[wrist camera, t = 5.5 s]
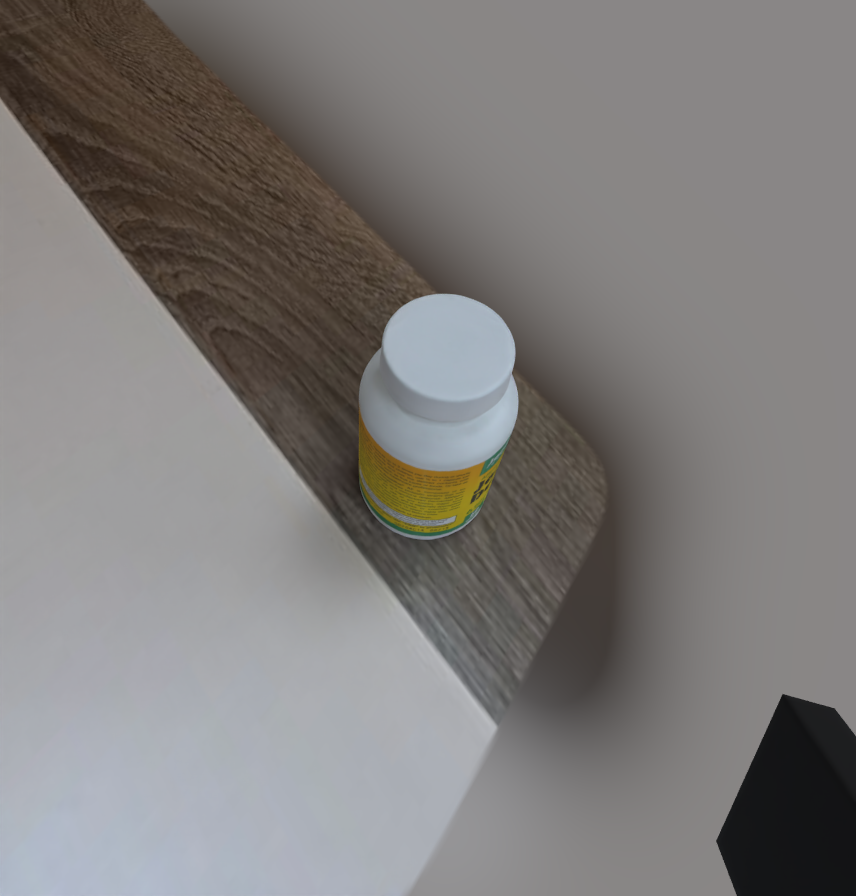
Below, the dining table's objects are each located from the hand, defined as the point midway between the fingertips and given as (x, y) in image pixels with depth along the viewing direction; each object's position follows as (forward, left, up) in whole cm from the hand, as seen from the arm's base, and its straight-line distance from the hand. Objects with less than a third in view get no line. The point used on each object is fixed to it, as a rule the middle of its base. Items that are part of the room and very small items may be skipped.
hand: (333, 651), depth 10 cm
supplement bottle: (+4, -10, -15) cm, 18 cm away
